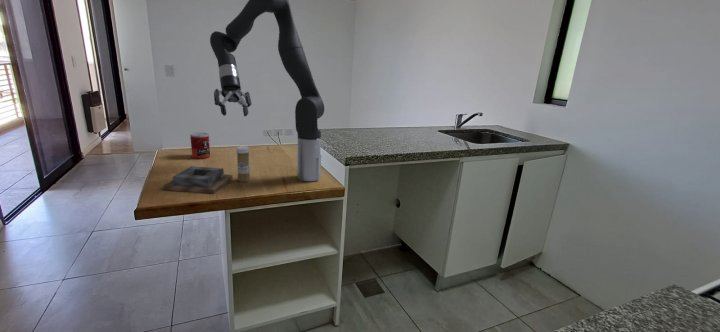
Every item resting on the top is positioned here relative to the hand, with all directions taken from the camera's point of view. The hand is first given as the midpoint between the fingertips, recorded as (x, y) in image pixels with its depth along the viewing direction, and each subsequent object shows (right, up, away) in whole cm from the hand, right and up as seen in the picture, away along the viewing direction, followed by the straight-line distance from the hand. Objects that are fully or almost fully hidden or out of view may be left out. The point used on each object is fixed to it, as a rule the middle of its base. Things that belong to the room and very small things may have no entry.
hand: (235, 115), depth 135 cm
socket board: (-9, -27, -10) cm, 31 cm away
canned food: (-24, -17, +21) cm, 36 cm away
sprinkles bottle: (+5, -26, -4) cm, 27 cm away
